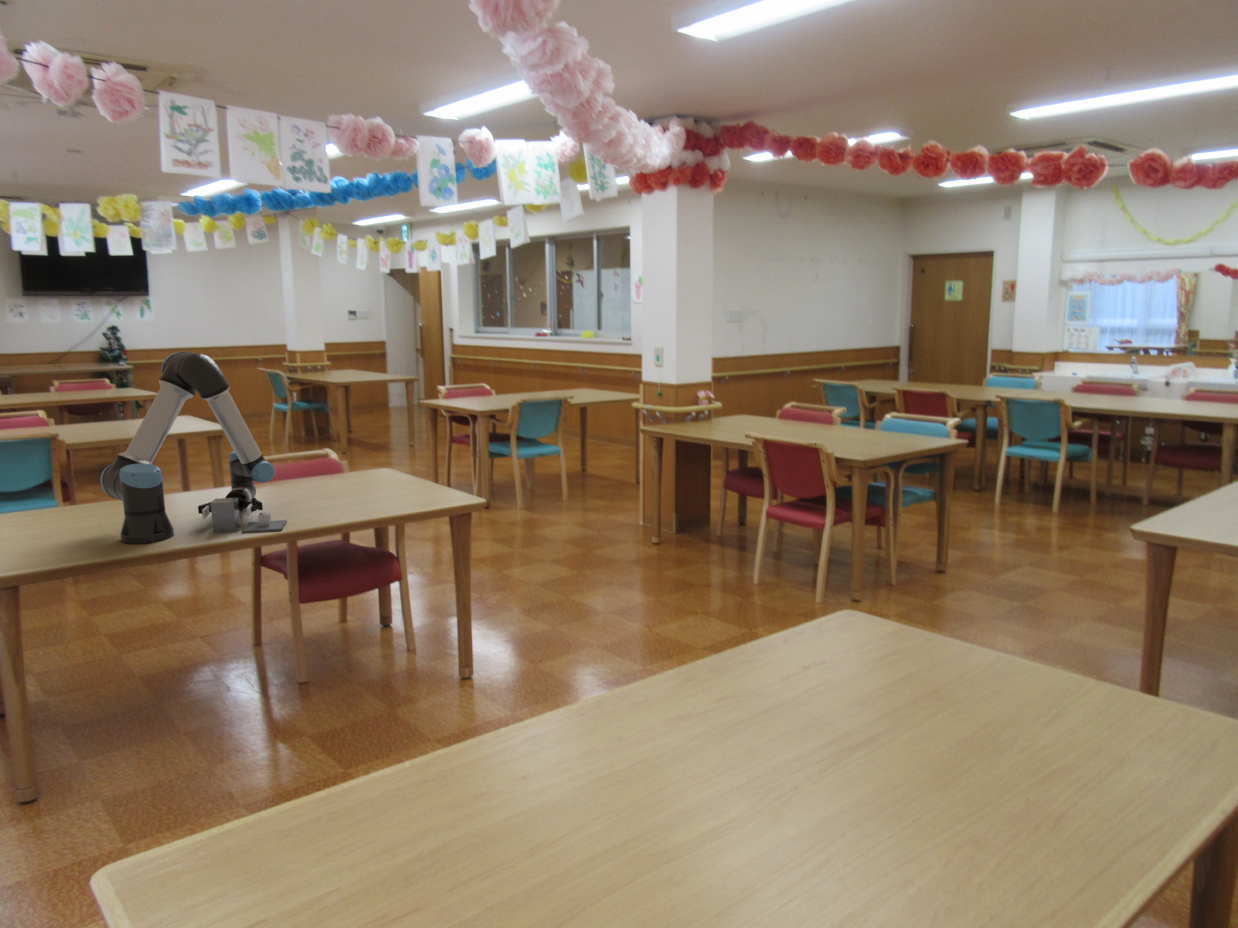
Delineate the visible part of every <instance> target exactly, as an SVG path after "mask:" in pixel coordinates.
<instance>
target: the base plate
mask: <svg viewBox="0 0 1238 928" xmlns="http://www.w3.org/2000/svg"><path fill="white" fill-rule="evenodd" d="M287 523H288V519H280V520H279V519H277V520H271V525H270V526H263V527H259V521H249V522H248V523H247V525H246V526H245V527H244V528H243V530H242V534H252V533H253V534H254V533H269V532H270V533H272V532H282V531H283V530H284V527H285V526H286V525H287Z"/></svg>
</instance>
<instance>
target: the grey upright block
mask: <svg viewBox="0 0 1238 928" xmlns="http://www.w3.org/2000/svg"><path fill="white" fill-rule="evenodd" d="M210 502H211V503H210V504H211V513H210V514H211V522H212V523H211V525H212V533H213V534H225V533H237V532H238V530H239V529H240V528H241V520H240V512H239V506H238V498H226V497H225V498H224V497H223V498H214V500H212V501H210Z"/></svg>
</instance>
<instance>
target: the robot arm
mask: <svg viewBox="0 0 1238 928" xmlns="http://www.w3.org/2000/svg"><path fill="white" fill-rule="evenodd" d="M160 369H161V370H160V371H161V376H160V378H159V380H158V384H159V387H160V388H159V390H158V392H157V394H156V396H155V397H154V400H153V401H152V403H151V405H150V406H149V408H148V410H147V412H146V414H145V415H144V418H143V419H142V421H141V423H140V425H139V427H138V428H137V430H136V432H135V433H134V436H133V438H132V439H131V441H130V442H129V445H128V446H127V449H126V450H125V451H124V452H120V453H118V454H117V456H116V457H115V459H114V461H113V463H111V464H109V465H108V466H106V467H105V468H104V469H103V471H102V472H101V474H100V479H99V480H100V481H99V482H100V486H101V488H102V490H103V492H104V493H105V494H107V495H108V496H109V497H110V498H113V499H114V500H117V501H121V502H122V505H123V513H124V518H123V522H122V527H121V531H120V542H122V543H124V544H130V545H133V544H134V545H141V544H151V543H155V542H156V543H157V542H162V541H165V540H168V539H171V538H172V537H174V536H175V532H174V527H173V525H172V522H171V520H170V518H169V516H168V514H167V512H166V506H165V505H166V502H165V492H164V483H163V479H164V478H163V477H164V476H163V475H162V470H161V468H160V467H159V466H158V465H155V464H153V462H154V460H155V459H156V456H157V454H158V452H159V451H160V449H161V447H162V445H163V443H164V441H165V439H166V438H167V436H168V434H169V432H170V430H171V428H172V426H173V425H174V423H175V421H176V419H177V417H178V416H179V414H180V412H181V410H182V408H183V407H184V405H185V402H186V401H187V400H188V399H189V400H190V399H191V398H194V396H195V394H196V393H198V394H199V396H200V398H201V399H202V400H205V401H206V402H207V405H208V406H209V408H210V409H211V411H212V413H213V415H214V416H215V418H216V420H217V422H218V424H219V425H220V427H221V429H222V431H223V432H224V435H225V436H226V438H227V440H228V442H229V443H230V445H231V448H232V450H233V451H231V452H229V454H228V466H229V475H230V485H231V490H230V491H229V492H228V493H227V495H226V496H225V498H238V506H239V513H240V512H243V511H244V510H246V516H247V517H250V516H251V515H252V513H253V512H254V513H255V512H256V511H263V510H264V509H263V502H261V500H258V499H257V498H256V494H257V489H256V486H255V484H254V482H256V483H263V484H264V483H268V482H269V481H271V480H272V479H273V477H274V476H275V470H276V469H275V467H274V465H273V464H272V463H271V462H269V461H267V460H266V459H265V457H264V455H263V453H262V452H261V450H260V448H259V446H258V443H257V442H256V441H255V438H254V437H253V434H252V432H251V431H250V429H249V427H248V424H247V423H246V422H245V419H244V418H243V416H242V414H241V412H240V410H239V408H238V406H237V404H236V402H235V400H234V399H233V396H232V394H231V393H230V391H229V390H230V387H231V386H230V383H228V380H227V378H226V377H225V375H224V373H223V371H222V370H221V368H220V366H219V365H218V364H217V363H216V361H215V360H213V358H212V357H210V356H208V355H206V354H204V353H200V352H189V351H178V352H174V353H171V354H169V355H168V356H167V357H166V358H165V359H163V362H162V365H161V368H160ZM211 502H212V501H209V502H207V503H203V504H200V505H198V506H197V508H198V512H197V513H198V514H201V515H202V519H203V520H204V519H206V518H208V516H209V515H210V514H211V504H210V503H211Z"/></svg>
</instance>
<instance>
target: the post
mask: <svg viewBox="0 0 1238 928" xmlns="http://www.w3.org/2000/svg"><path fill="white" fill-rule="evenodd" d="M257 518H258V522H259V527H263V526H270V525H271V521H272V520H271V512H269V511H267V512H259V513H258V517H257Z"/></svg>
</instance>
